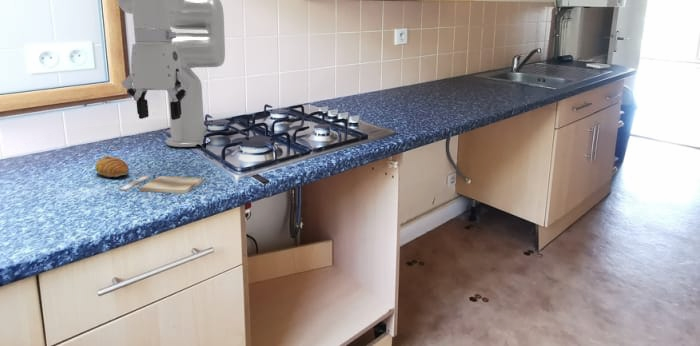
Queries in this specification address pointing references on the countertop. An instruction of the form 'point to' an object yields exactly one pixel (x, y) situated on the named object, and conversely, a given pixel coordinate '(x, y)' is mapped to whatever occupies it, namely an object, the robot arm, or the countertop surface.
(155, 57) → the robot arm
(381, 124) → the countertop surface
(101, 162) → the pastry
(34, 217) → the countertop surface
